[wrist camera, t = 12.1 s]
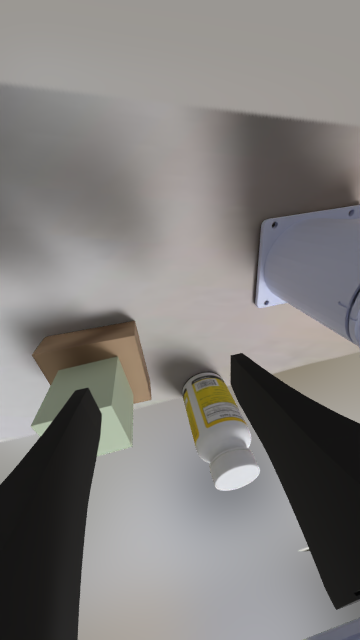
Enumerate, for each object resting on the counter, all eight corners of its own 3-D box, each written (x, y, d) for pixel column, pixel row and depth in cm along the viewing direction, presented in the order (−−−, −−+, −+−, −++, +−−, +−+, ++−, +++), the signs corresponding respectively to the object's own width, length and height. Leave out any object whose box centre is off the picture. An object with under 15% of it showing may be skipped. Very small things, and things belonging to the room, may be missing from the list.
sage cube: (117, 356, 17) (111, 405, 13) (133, 394, 19) (132, 446, 15) (58, 370, 17) (30, 426, 12) (82, 407, 19) (65, 465, 15)
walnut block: (134, 318, 19) (134, 335, 16) (149, 378, 23) (151, 399, 20) (47, 334, 18) (31, 354, 15) (78, 393, 22) (70, 417, 19)
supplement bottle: (202, 407, 26) (233, 499, 18) (172, 392, 24) (191, 490, 16) (232, 381, 25) (279, 468, 17) (203, 363, 23) (241, 453, 14)
